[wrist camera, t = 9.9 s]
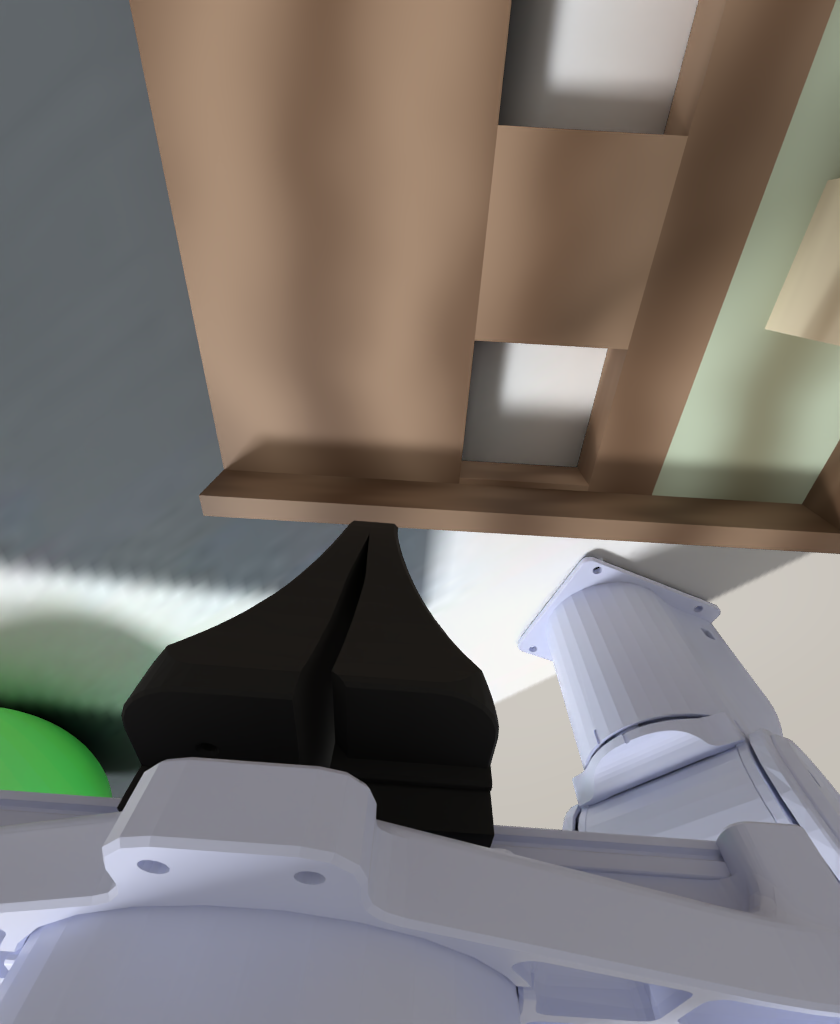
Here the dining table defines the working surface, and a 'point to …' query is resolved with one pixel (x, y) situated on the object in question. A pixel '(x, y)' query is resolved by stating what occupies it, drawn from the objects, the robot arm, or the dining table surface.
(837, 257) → the beech block
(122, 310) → the dining table surface
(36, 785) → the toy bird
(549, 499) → the box
